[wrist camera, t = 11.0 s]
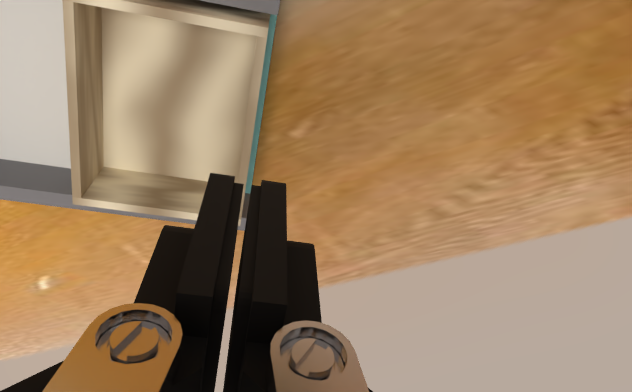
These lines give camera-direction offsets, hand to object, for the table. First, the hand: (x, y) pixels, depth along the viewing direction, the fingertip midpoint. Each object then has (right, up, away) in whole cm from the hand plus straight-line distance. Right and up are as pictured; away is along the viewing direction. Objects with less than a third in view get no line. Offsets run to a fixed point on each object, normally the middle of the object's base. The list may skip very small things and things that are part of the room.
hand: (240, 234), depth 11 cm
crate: (-9, +9, +27) cm, 29 cm away
